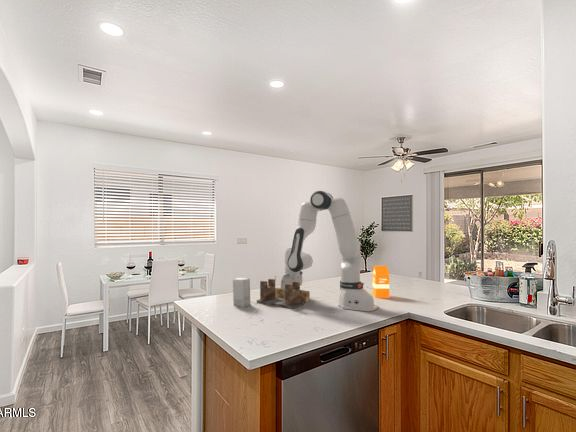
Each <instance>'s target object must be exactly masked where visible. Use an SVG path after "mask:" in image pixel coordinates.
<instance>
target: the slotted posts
mask: <svg viewBox="0 0 576 432" xmlns="http://www.w3.org/2000/svg"><path fill="white" fill-rule="evenodd" d="M259 282H260V283H259V284H260V285H259V290H260V291H259V294H260V295H259V296H260V299H256V303H257V304H262V305H268V306H273V307H279V308H285V309H289V310H290V309H291V310H294V309H297V308H298V307H301V306H304V305H305V304H304V303H305V302H301V301H300V290H301V286H300V282H292V284H285V299H283V298H277V297H275V288H276V279H275V278H268V280H267V281H266V280H260V281H259Z"/></svg>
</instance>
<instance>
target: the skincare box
mask: <svg viewBox="0 0 576 432" xmlns="http://www.w3.org/2000/svg"><path fill="white" fill-rule="evenodd" d="M250 280H251V279H250V278H248V277H237V278H232V293H233V294H232V296H233V297H232V298H233V301H232V302H233V306H237V307H242V308H245V307H248V306H250V305H251V304H252V303H251V281H250Z"/></svg>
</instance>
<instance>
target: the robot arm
mask: <svg viewBox="0 0 576 432" xmlns="http://www.w3.org/2000/svg"><path fill="white" fill-rule="evenodd" d="M326 210H328V211H329V214H330V216H331V221H332V224H333V228H334V231H335V235H336V240H337V245H338V249H339V252H340V254H341V255H340V256H341V259H340V261H341V262H340V280H339V281H340V282H339V290H340V291H339V293H340V294H339V299H338V300H339V301H338V303H337V306H339V307H341V308H342V310H343V309H344V310H352V311H361V312H374V311H375V310H377V309H378V308H379V305H378V304H377V303H375V299H374V296H373V294H371V293H370V292H368V291H367V290H366V289H365V288H364V286H365V282H362V281H361V244H360V242H359V241H358V238H357V234H356V230H355V225H354V223H353V222H354V221H353V219H352V215H351V211H350V210H349V207H348V204H347V202H346V201H345V199H343V197H335V198H334V197H333V195H332V194H331V193H329V192H327V191H324V190H317V191H314V192H313V193H312V194H311V196H310V200H309V201H305V202H302V203H301V204H300V208H299V213H298V219H297V221H298V222H297V226H296V229H295V232H294V235H293V239H292V245H291V247H290V248H286V250H285V251H284V275H283V276H282V278H281V280H280V287H281V290H284V291H285V284H292V282H300V287H301V286H302V285H303V273H304V272H303V271H305V270H306V269H309V268H311V267H312V265H313V262H314V261H313V258H312V256H311V255H310V254H309V253H305V252H303V247H304V246H303V245H304V242H305V240H306V238H308V236H310V235H311V234H312V233H314V232H315V229H316V227H317V217H318V213H319V212H320V211H326Z"/></svg>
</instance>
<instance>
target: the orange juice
mask: <svg viewBox="0 0 576 432" xmlns="http://www.w3.org/2000/svg"><path fill="white" fill-rule="evenodd" d="M389 273H390V272H389V268H388V265H373V270H372V297H373V298H376V299H383V298H384V299H389V298H390V274H389Z"/></svg>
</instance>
